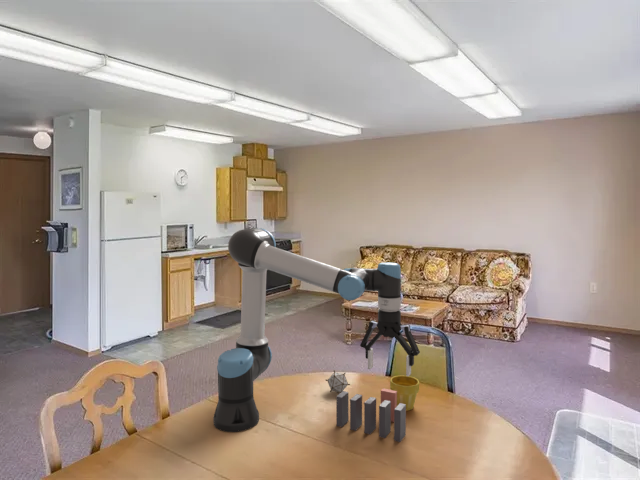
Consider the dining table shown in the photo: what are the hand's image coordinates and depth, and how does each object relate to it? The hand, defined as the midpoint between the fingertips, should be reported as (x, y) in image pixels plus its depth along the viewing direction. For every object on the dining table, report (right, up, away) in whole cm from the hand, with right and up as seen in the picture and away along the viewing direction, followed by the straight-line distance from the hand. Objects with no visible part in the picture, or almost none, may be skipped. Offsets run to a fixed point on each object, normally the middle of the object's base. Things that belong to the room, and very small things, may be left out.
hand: (389, 371), depth 153 cm
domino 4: (0, -17, +1) cm, 17 cm away
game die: (-16, -15, +24) cm, 33 cm away
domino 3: (-7, -17, -6) cm, 20 cm away
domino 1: (-16, -17, -1) cm, 23 cm away
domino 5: (-3, -17, -8) cm, 20 cm away
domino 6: (+2, -18, -11) cm, 21 cm away
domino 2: (-11, -17, -4) cm, 21 cm away
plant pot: (+7, -16, +11) cm, 21 cm away
